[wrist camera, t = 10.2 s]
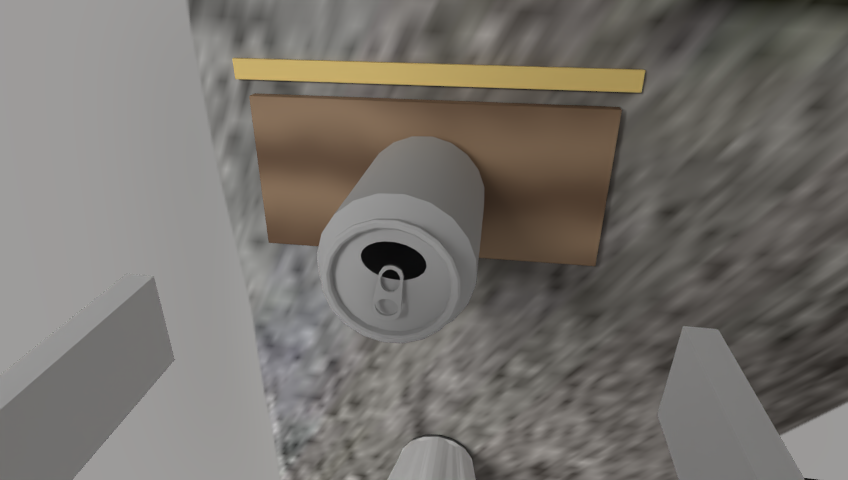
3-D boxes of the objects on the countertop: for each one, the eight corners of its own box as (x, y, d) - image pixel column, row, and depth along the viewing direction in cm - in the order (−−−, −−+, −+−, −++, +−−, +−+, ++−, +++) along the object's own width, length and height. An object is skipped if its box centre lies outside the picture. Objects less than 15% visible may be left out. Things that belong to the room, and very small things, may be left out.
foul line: (234, 57, 33) (232, 58, 32) (644, 69, 30) (645, 70, 29) (237, 78, 33) (235, 79, 33) (640, 91, 30) (641, 92, 30)
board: (254, 93, 33) (249, 96, 33) (619, 107, 31) (621, 109, 30) (273, 237, 38) (268, 242, 37) (593, 260, 35) (595, 266, 34)
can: (495, 142, 32) (489, 225, 21) (474, 252, 35) (460, 371, 25) (373, 122, 32) (306, 193, 22) (363, 232, 36) (302, 340, 25)
